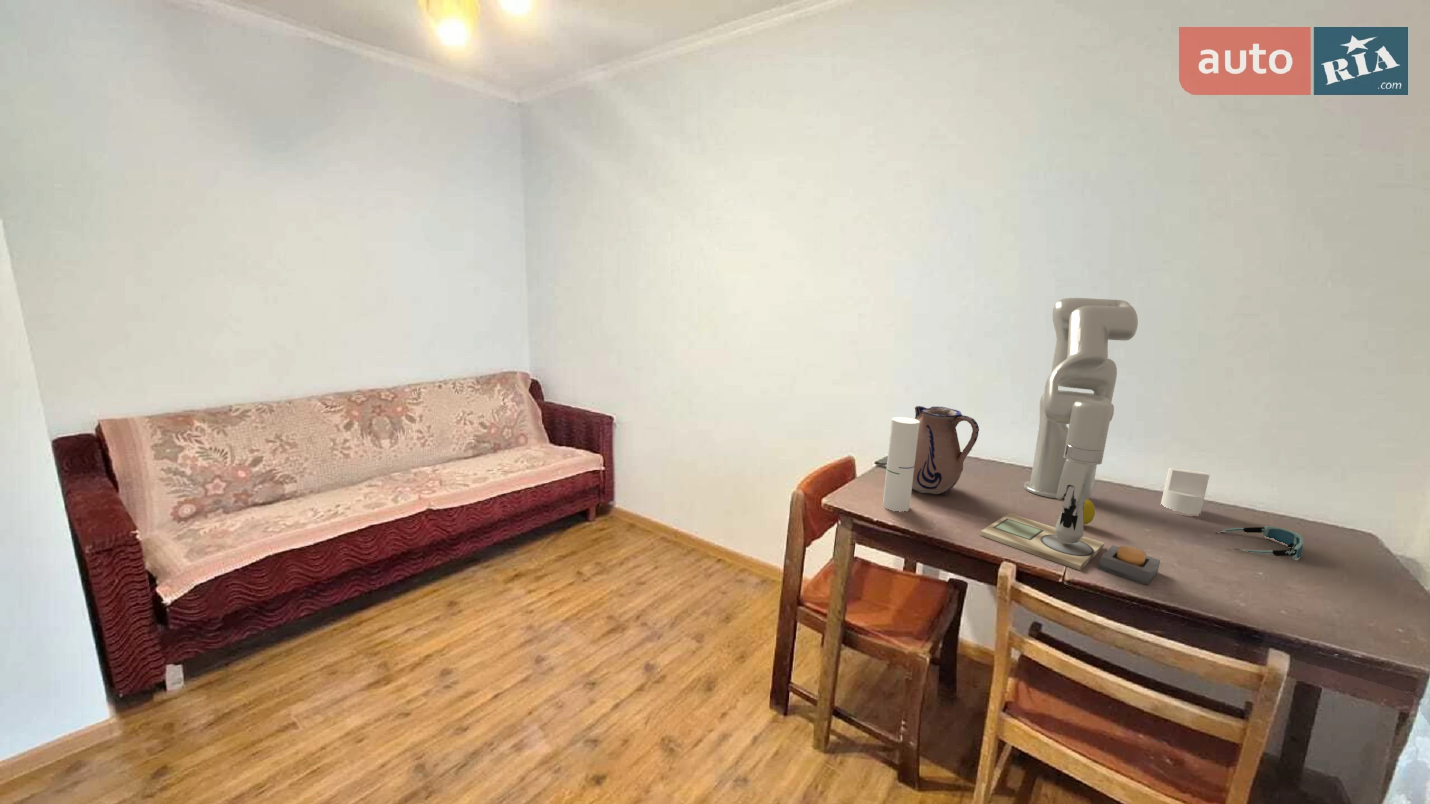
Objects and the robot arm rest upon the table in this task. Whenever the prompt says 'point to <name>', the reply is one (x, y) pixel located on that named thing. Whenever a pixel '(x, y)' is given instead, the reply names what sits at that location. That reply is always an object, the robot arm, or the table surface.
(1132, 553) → the button
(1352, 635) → the table surface
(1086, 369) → the robot arm
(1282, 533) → the sunglasses
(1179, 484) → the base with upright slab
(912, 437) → the cylindrical container
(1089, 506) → the lemon
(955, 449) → the ceramic pitcher
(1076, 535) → the salt shaker
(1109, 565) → the button housing
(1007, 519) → the picture board
